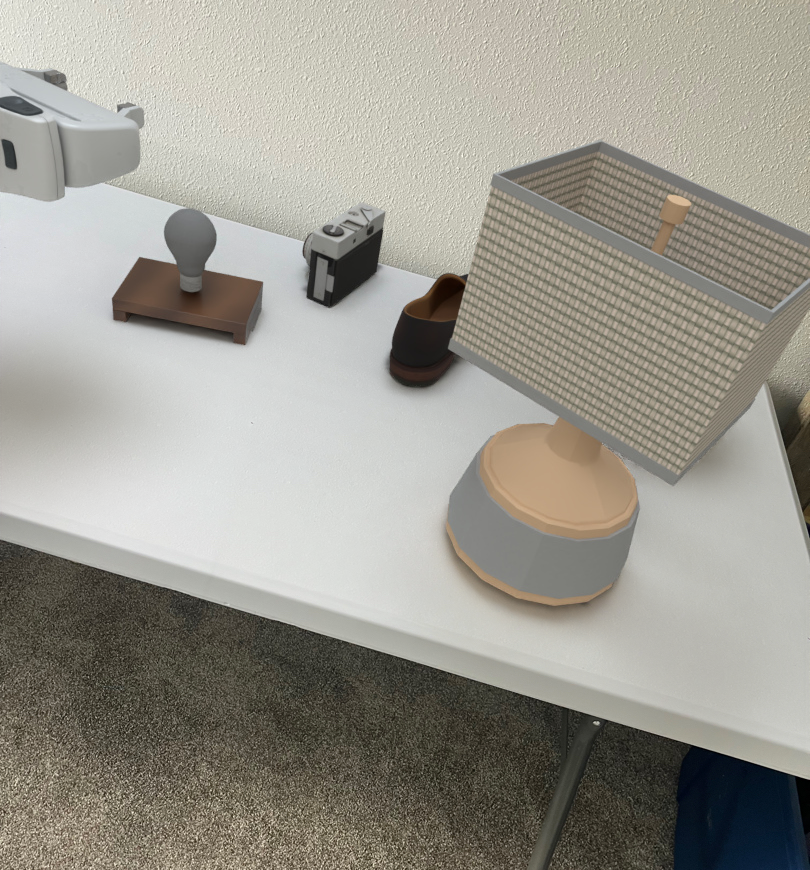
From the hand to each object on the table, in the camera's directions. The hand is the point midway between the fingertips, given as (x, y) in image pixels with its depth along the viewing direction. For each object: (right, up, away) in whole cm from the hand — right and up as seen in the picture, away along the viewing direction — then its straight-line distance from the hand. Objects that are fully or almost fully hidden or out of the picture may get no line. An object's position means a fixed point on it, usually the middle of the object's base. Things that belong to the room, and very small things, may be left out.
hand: (99, 97), depth 72 cm
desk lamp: (+41, -42, +10) cm, 60 cm away
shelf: (+1, -12, +28) cm, 30 cm away
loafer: (+34, -14, +35) cm, 51 cm away
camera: (+18, -3, +41) cm, 45 cm away
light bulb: (+2, -10, +25) cm, 27 cm away
